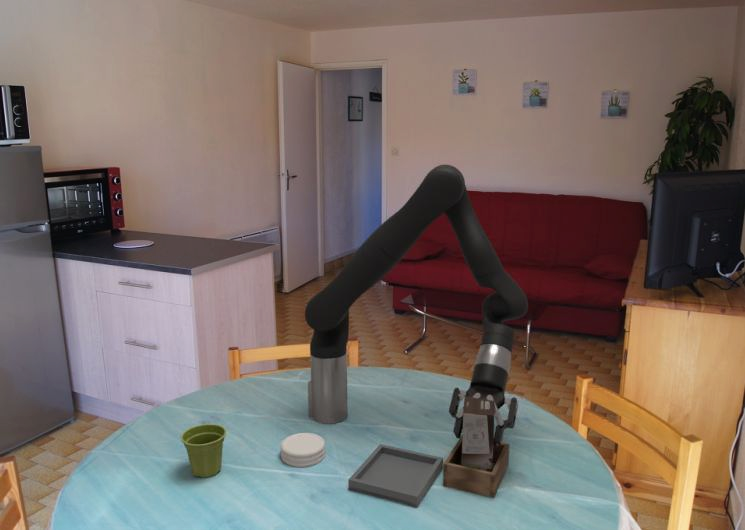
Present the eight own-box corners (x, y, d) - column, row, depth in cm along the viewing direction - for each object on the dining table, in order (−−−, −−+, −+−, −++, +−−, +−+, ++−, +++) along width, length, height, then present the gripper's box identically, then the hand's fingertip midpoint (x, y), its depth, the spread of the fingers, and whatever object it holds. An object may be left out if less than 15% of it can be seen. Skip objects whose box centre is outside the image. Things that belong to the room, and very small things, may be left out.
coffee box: (491, 488, 125) (494, 415, 121) (460, 485, 126) (462, 413, 123) (492, 465, 134) (495, 396, 130) (462, 462, 135) (464, 394, 131)
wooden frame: (442, 485, 126) (443, 463, 125) (461, 454, 138) (462, 434, 137) (493, 497, 122) (494, 475, 121) (508, 464, 134) (509, 444, 133)
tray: (348, 489, 125) (348, 479, 124) (380, 453, 139) (380, 444, 138) (417, 507, 119) (417, 496, 118) (443, 467, 133) (443, 457, 132)
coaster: (333, 451, 140) (333, 437, 139) (309, 472, 132) (308, 457, 131) (297, 442, 145) (297, 428, 144) (272, 461, 136) (271, 447, 135)
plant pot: (188, 487, 126) (185, 448, 124) (180, 466, 134) (177, 429, 132) (233, 475, 130) (231, 438, 128) (222, 455, 138) (220, 420, 137)
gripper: (456, 357, 135) (439, 428, 127) (522, 367, 129) (508, 442, 121) (463, 371, 140) (446, 440, 133) (526, 381, 135) (512, 454, 127)
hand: (476, 441), depth 127 cm, fingers closed on coffee box, 7 cm apart
